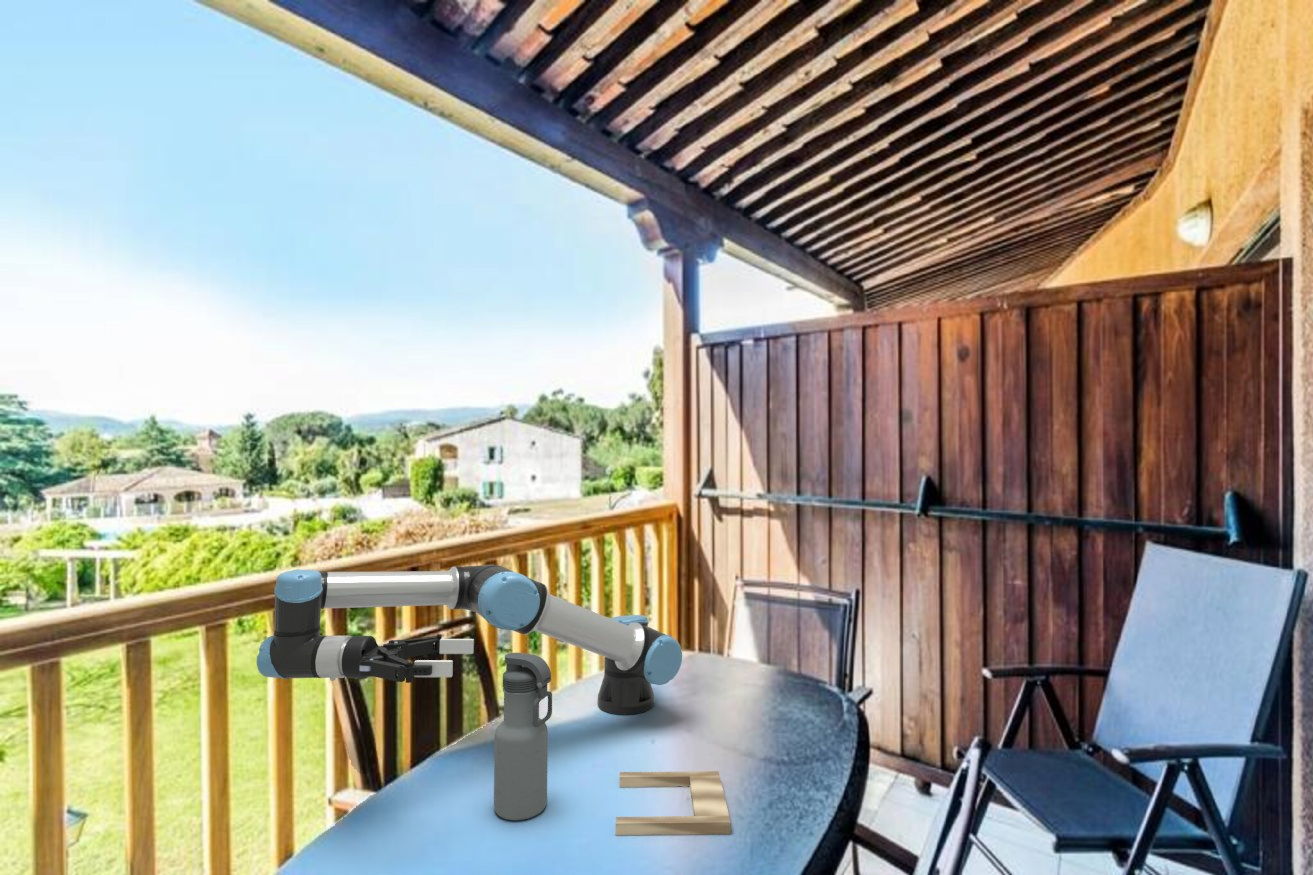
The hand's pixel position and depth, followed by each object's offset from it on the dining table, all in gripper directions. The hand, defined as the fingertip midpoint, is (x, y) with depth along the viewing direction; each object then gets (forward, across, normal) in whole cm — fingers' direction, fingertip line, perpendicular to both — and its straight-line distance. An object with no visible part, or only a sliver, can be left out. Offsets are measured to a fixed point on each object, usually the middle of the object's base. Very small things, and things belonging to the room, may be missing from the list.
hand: (463, 656), depth 117 cm
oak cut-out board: (+39, -1, -28) cm, 48 cm away
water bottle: (+11, -1, -28) cm, 30 cm away
